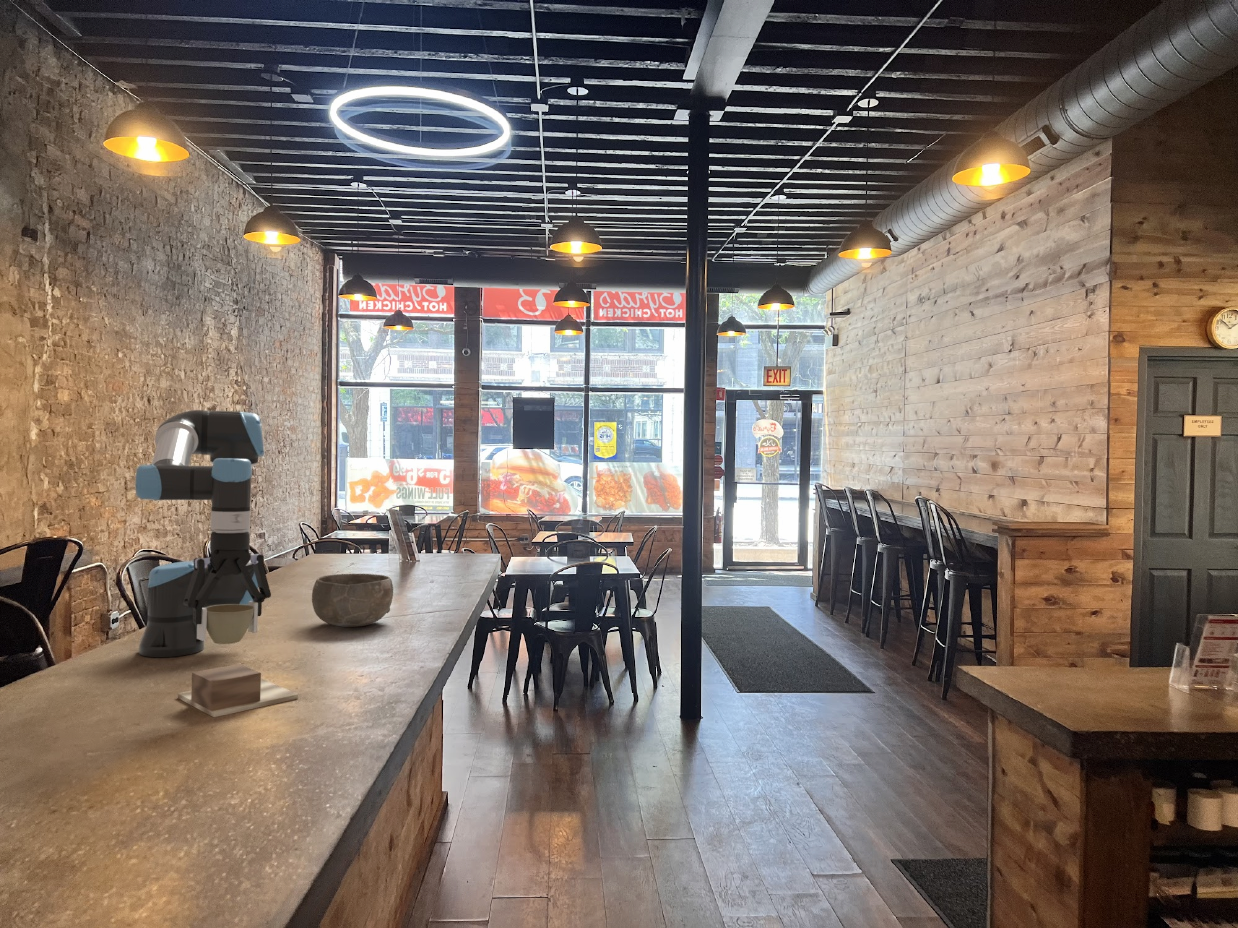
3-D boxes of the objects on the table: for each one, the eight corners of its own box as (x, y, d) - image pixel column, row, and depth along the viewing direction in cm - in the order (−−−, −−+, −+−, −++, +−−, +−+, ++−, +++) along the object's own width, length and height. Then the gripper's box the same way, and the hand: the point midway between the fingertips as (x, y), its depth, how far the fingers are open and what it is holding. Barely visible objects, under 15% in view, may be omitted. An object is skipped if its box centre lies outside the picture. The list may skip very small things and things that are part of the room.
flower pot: (232, 648, 164) (233, 613, 164) (189, 644, 166) (190, 610, 166) (263, 638, 174) (264, 605, 174) (222, 634, 176) (223, 602, 176)
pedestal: (191, 700, 170) (192, 672, 170) (238, 690, 178) (239, 663, 177) (211, 711, 163) (212, 681, 163) (260, 700, 171) (260, 672, 171)
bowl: (409, 624, 255) (410, 577, 255) (346, 637, 234) (347, 586, 234) (358, 614, 268) (359, 569, 267) (294, 626, 247) (295, 577, 247)
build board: (177, 697, 174) (177, 693, 174) (259, 681, 188) (259, 677, 188) (213, 717, 163) (213, 712, 163) (298, 698, 177) (298, 693, 177)
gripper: (181, 535, 159) (178, 647, 159) (290, 529, 176) (287, 630, 176) (166, 532, 164) (163, 640, 164) (273, 526, 181) (270, 625, 181)
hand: (227, 635), depth 170 cm, fingers closed on flower pot, 10 cm apart
